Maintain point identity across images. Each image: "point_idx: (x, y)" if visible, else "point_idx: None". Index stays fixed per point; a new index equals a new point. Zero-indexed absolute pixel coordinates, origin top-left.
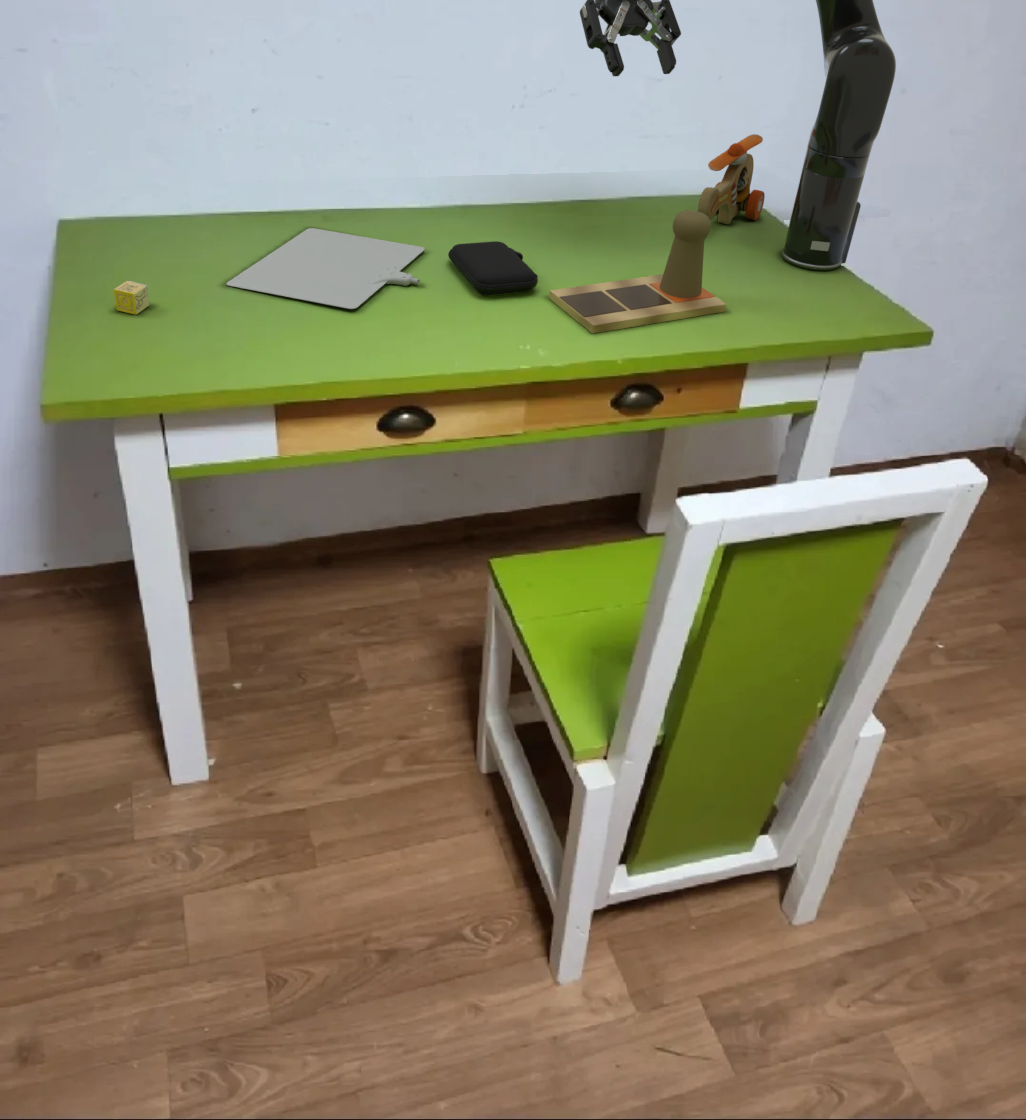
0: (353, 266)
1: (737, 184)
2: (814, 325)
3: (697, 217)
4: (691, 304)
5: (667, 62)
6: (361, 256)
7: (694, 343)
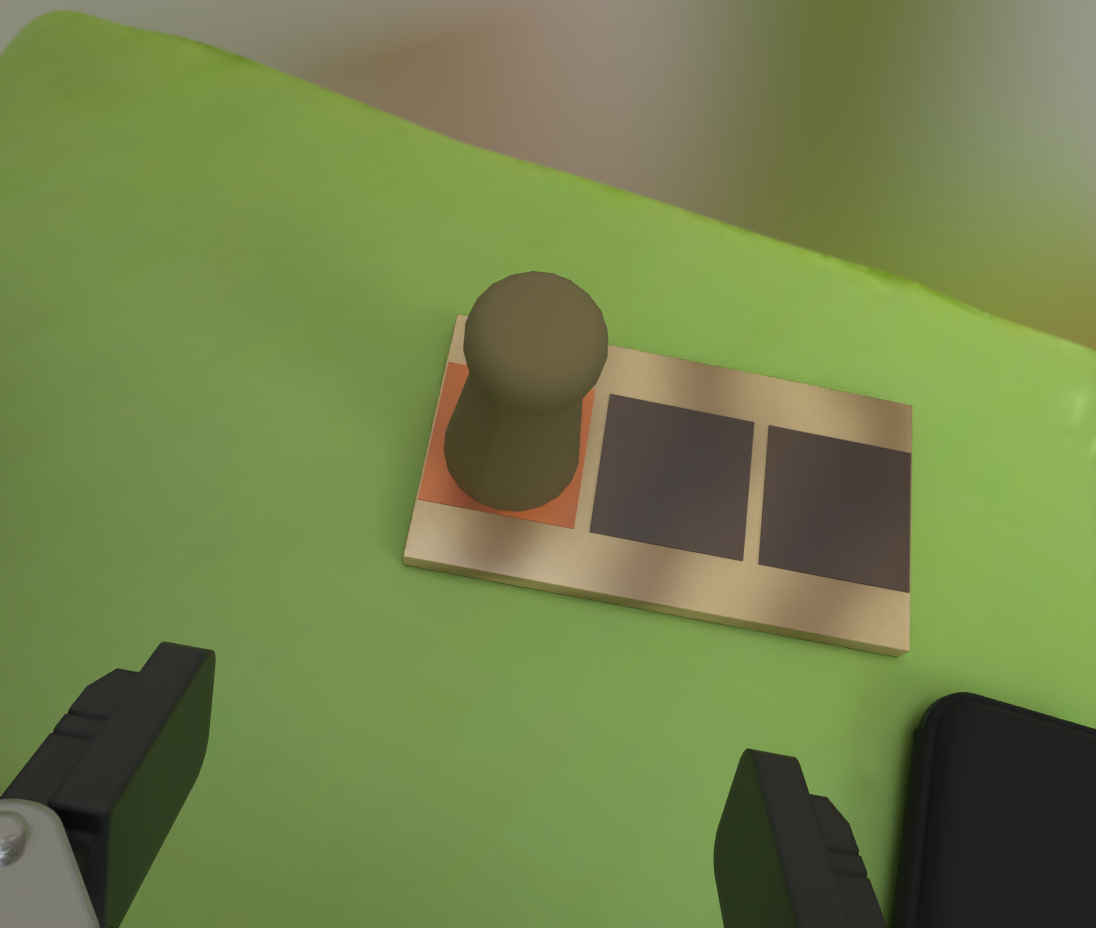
0: None
1: None
2: (293, 155)
3: (555, 289)
4: None
5: (191, 715)
6: None
7: (680, 250)
